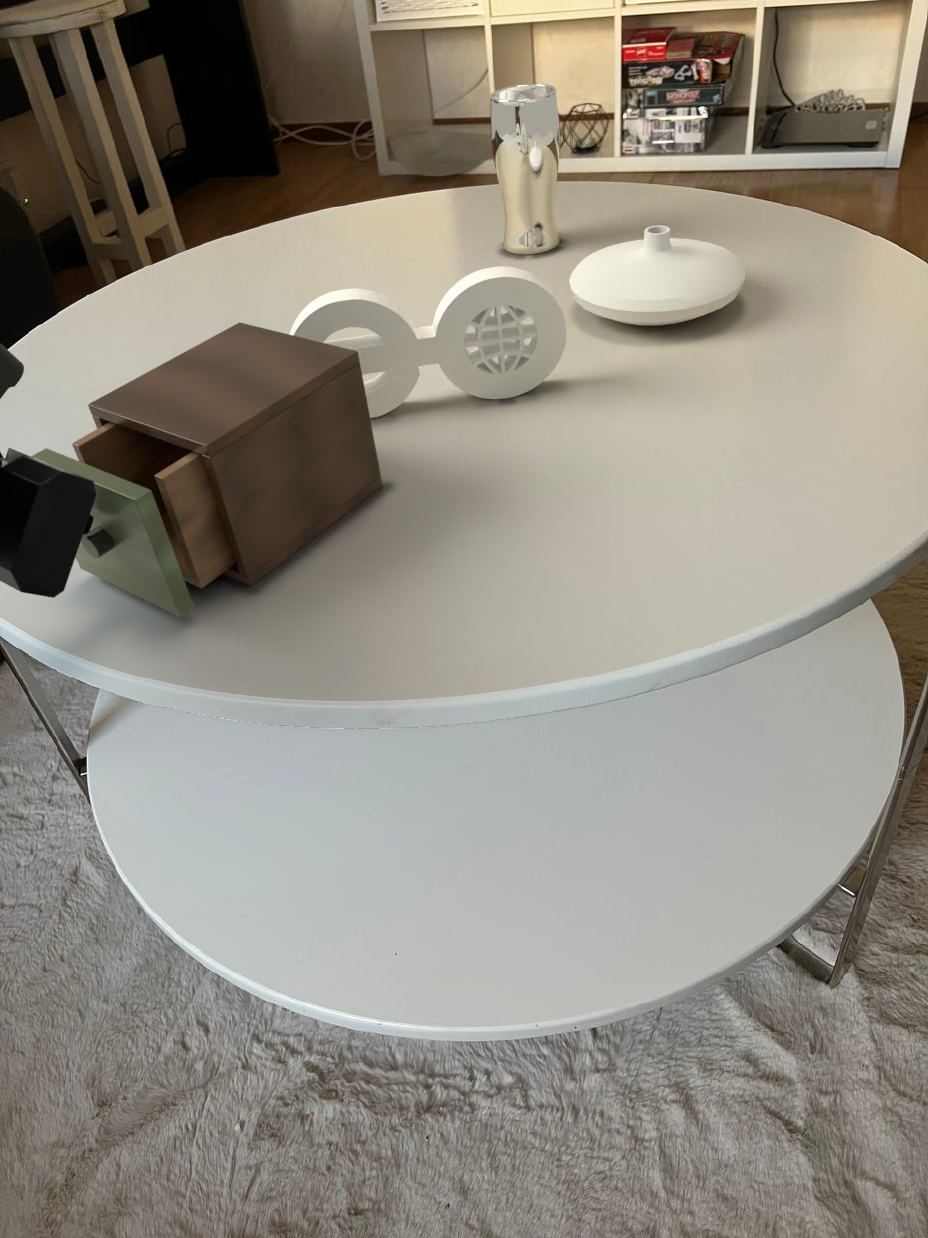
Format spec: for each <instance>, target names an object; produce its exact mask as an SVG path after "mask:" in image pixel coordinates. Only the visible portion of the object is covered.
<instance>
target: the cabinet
mask: <svg viewBox="0 0 928 1238" xmlns="http://www.w3.org/2000/svg"><path fill="white" fill-rule="evenodd" d="M359 362H360V360H359V355H358V351H354V350H350V349H346V348H342V347H338V346H334V345H330V344H326V343H322V342H318V341H314V340H309V339H305V338H301V337H297V336H293V335H290V333H289V334H288V333H285V332H281V331H277V330H272V329H269V328H264V327H260V326H256V325H252V324H248V323H244V322H238V323H236V324H233V325H232V326H230V327H228V328H226V329H225V330H222V331H220V332H219V333H217V334H215V335H213V336H212V337H209V338H207V339H206V340H203V341H202V342H200V343H198V344H196V345H195V346H193V347H191V348H189V349H187V350H186V351H184V352H182V353H180V354H178V355H177V356H175V357H173V358H171V359H169V360H167V361H165V362H164V363H162V364H159V365H158V366H156V367H154V368H153V369H151V370H149V371H147V372H145V373H143V374H141V375H139V376H137V377H136V378H134V379H131V380H130V381H128V382H127V383H125V384H123V385H121V386H119V387H118V388H115V389H113V390H111V391H110V392H108V393H106V394H104V395H102V396H100V397H99V398H97V399H95V400H93V401H92V402H90V403H88V404H87V407H88V410H89V411H90V414H91V417H92V419H93V422H94V425H95V427H96V429H98V428H100V427H102V426H104V425H105V424H107V423H109V422H113V423H116V424H118V425H121V426H124V427H127V428H130V429H132V430H135V431H138V432H141V433H144V434H147V435H149V436H152V437H155V438H158V439H161V440H163V441H166V442H169V443H172V444H175V445H177V446H180V447H183V448H186V449H189V450H191V451H194V452H197V453H200V454H203V455H202V456H203V460H204V463H205V466H206V469H207V472H208V475H209V478H210V482H211V485H212V488H213V491H214V494H215V497H216V500H217V504H218V507H219V510H220V513H221V516H222V519H223V522H224V526H225V529H226V532H227V535H228V538H229V541H230V544H231V548H232V551H233V554H234V557H235V560H236V564H234V565H233V566H232V567H230V568H229V569H227V570H226V571H225V572H223V573H222V574H221V575H223V576H226V577H228V578H230V579H233V580H235V581H237V582H240V583H242V584H244V585H247V586H249V587H252V586H253V585H254V584H255V583H257V582H258V581H259V580H262V578H263V577H265V576H267V574H269V573H270V572H272V571H273V570H274V569H276V568H277V567H278V566H279V565H281V564H282V563H283V562H285V561H286V560H287V559H289V558H290V557H292V555H294V554H295V553H296V552H298V551H299V550H300V549H302V548H303V547H304V546H306V545H307V544H308V543H310V542H311V541H312V540H313V539H315V538H316V537H317V536H319V535H320V534H321V533H323V532H324V531H325V530H326V529H329V527H331V526H332V525H333V524H334V523H336V522H337V521H338V520H340V519H341V518H342V517H343V516H345V515H346V514H348V513H349V512H350V511H351V510H353V509H354V508H355V507H357V506H358V505H359V504H360V503H362V502H363V501H365V500H366V499H367V498H369V497H370V496H371V495H372V494H373V493H375V492H376V491H378V490H379V489H380V488H382V487H383V480H382V475H381V470H380V469H381V468H380V464H379V458H378V453H377V448H376V443H375V436H374V431H373V426H372V420H371V418H370V415H369V409H368V404H367V398H366V393H365V388H364V382H365V381H364V377H363V375H362V371H361V366H360V363H359Z"/></svg>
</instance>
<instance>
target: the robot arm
mask: <svg viewBox="0 0 928 1238" xmlns="http://www.w3.org/2000/svg"><path fill="white" fill-rule="evenodd" d="M24 373H25V365H24V364H23V362H21V361H20V359H19V358H18V357H16V356H15V355H14V354H13V353H12V352H10V350H9V349H7V348H6V347H5V346H4V345H3V344H2V343H1V342H0V400H1V399H2V397H4V395H5V394H6V393H7V391H8V390H9V389H11V388H14V387H16V386H17V384H18V383H19V382H20V381H21V379H22V377H23V375H24ZM96 495H97V494H96V490H95V486H94V481H92V480H89V479H87V478H84V477H82V476H80V475H77V474H75V473H72V472H70V471H67V470H65V469H62V468H60V467H57V466H54V465H51V464H48V463H45V462H42V461H39V460H36V459H34V458H33V457H31V456H30V455H29V454H25V453H23V452H21V451H18V450H15V449H13V448H11V447H8V448H7V452H6V455H5V457H4V455H3V454H2V452H1V451H0V582H1V583H3V584H5V585H7V586H9V587H11V588H13V589H15V590H16V591H19V592H20V593H23V594H29V595H34V596H35V595H36V596H41V597H46V598H52V599H54V598H56V597H57V596H59V595H60V594H62V593H63V592H65V589H66V586H67V583H68V580H69V577H70V575H71V571H72V568H73V564H74V563H75V560H76V554H77V551H78V548H79V545H80V542H81V539H82V536H83V535H84V534H87V533H89V531H90V529H91V526H92V523H93V516H92V515H90V513H91V510H92V507H93V504H94V501H95V498H96Z"/></svg>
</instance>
